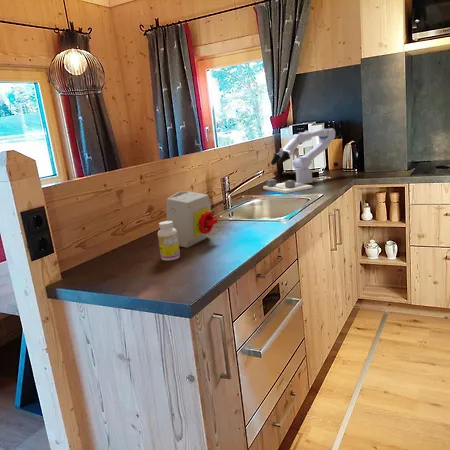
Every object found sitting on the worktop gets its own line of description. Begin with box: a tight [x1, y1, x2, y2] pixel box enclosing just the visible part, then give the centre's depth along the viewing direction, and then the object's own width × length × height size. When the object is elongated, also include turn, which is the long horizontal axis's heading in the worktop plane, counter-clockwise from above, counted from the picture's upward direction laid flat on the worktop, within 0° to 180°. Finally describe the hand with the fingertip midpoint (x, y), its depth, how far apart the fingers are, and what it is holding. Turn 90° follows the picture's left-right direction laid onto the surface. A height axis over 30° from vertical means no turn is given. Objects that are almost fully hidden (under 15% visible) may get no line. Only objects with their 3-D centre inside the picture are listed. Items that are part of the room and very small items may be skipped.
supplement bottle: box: [157, 220, 181, 262], centre depth 148 cm, size 7×7×13 cm
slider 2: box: [284, 179, 296, 188], centre depth 252 cm, size 4×4×4 cm
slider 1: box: [265, 178, 277, 187], centre depth 264 cm, size 4×4×4 cm
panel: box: [262, 181, 313, 194], centre depth 260 cm, size 18×26×2 cm
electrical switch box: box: [165, 190, 218, 249], centre depth 163 cm, size 15×15×20 cm
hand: (275, 163), depth 258 cm, fingers open, 7 cm apart
